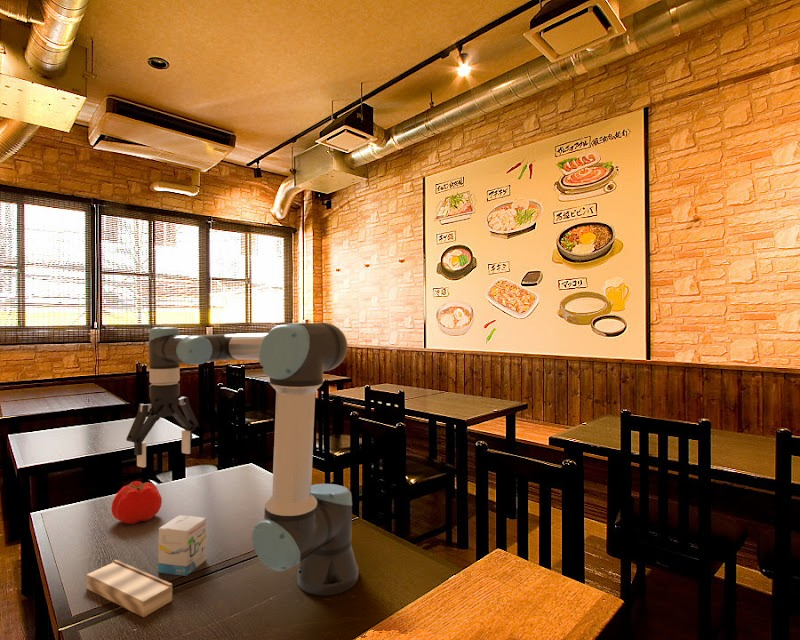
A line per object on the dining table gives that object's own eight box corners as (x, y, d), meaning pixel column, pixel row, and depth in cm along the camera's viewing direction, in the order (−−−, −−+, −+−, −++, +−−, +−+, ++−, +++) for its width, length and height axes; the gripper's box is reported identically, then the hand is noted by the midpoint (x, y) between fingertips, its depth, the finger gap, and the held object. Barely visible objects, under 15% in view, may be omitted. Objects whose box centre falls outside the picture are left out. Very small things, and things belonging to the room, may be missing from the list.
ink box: (186, 576, 120) (186, 531, 119) (157, 572, 121) (157, 527, 121) (206, 559, 128) (207, 516, 128) (179, 556, 130) (179, 514, 129)
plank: (172, 600, 110) (172, 583, 110) (143, 617, 103) (143, 599, 103) (116, 574, 120) (116, 559, 120) (87, 588, 114) (86, 572, 114)
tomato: (164, 522, 150) (164, 485, 150) (112, 533, 142) (112, 494, 142) (158, 507, 161) (158, 473, 161) (110, 517, 153) (110, 481, 153)
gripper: (193, 377, 143) (193, 446, 144) (111, 388, 121) (111, 470, 122) (211, 378, 140) (211, 449, 140) (129, 390, 118) (129, 475, 118)
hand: (164, 459), depth 131 cm, fingers open, 13 cm apart
